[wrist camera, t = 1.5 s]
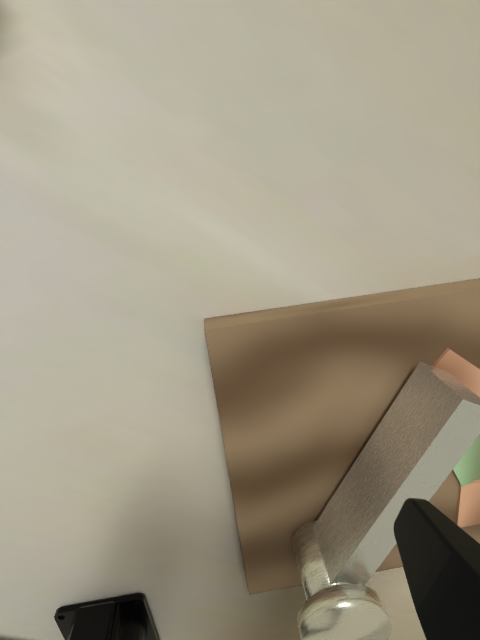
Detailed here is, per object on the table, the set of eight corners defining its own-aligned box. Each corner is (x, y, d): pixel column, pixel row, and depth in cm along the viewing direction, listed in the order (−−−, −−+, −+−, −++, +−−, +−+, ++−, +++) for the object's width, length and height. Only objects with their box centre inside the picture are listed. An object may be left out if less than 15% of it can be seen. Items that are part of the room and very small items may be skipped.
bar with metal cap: (329, 568, 26) (362, 669, 21) (268, 555, 25) (286, 659, 20) (464, 376, 21) (552, 446, 16) (394, 350, 20) (464, 415, 15)
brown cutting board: (512, 526, 29) (529, 546, 28) (246, 573, 28) (249, 597, 27) (570, 265, 21) (599, 272, 20) (204, 318, 20) (204, 331, 19)
